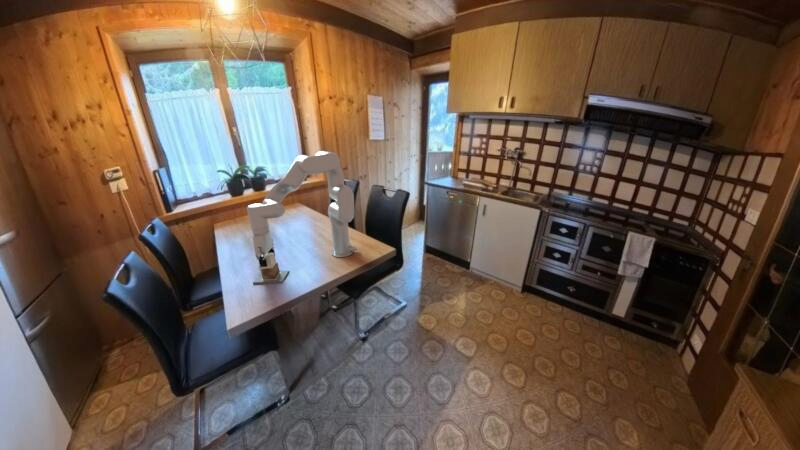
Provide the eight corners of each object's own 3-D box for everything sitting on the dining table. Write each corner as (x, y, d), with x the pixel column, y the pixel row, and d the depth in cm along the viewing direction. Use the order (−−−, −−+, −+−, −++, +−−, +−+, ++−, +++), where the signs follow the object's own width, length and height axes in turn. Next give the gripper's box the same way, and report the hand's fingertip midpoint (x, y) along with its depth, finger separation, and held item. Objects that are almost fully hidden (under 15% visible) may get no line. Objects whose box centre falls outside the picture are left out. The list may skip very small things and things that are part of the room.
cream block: (276, 263, 134) (274, 252, 132) (272, 268, 129) (270, 257, 127) (266, 263, 134) (263, 253, 132) (262, 268, 129) (259, 257, 127)
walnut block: (279, 272, 137) (277, 262, 135) (275, 279, 131) (272, 268, 129) (268, 273, 137) (265, 263, 134) (263, 279, 131) (260, 269, 129)
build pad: (289, 272, 139) (288, 270, 139) (282, 282, 130) (281, 281, 129) (262, 273, 139) (261, 271, 138) (253, 284, 129) (252, 282, 129)
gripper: (260, 223, 132) (267, 253, 139) (243, 237, 116) (252, 271, 123) (276, 222, 133) (282, 253, 139) (260, 236, 116) (268, 270, 123)
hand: (268, 261), depth 131 cm, fingers open, 9 cm apart
